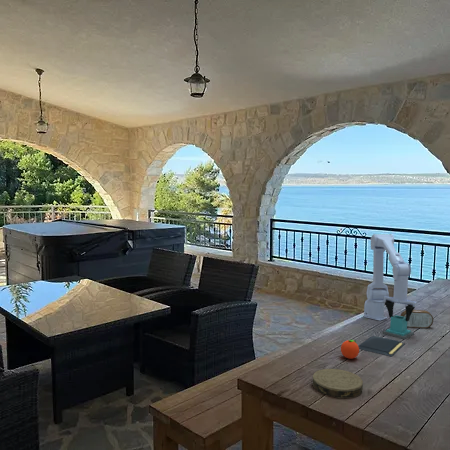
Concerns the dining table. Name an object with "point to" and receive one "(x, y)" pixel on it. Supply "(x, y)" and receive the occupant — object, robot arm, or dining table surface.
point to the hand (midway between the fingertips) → (399, 319)
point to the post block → (399, 335)
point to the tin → (419, 319)
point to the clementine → (350, 349)
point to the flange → (398, 325)
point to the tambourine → (337, 383)
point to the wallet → (381, 345)
